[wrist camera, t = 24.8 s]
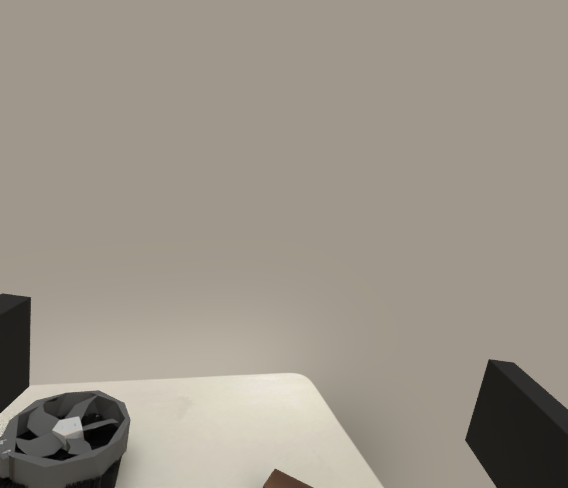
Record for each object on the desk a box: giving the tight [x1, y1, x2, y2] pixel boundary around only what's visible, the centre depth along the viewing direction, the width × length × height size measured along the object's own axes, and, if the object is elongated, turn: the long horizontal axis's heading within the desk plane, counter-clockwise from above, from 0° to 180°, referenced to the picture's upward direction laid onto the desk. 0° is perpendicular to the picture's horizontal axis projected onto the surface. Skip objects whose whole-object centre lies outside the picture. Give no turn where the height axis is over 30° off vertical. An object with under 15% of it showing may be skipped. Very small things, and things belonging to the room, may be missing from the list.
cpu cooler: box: [0, 391, 130, 488], centre depth 36 cm, size 10×6×10 cm
